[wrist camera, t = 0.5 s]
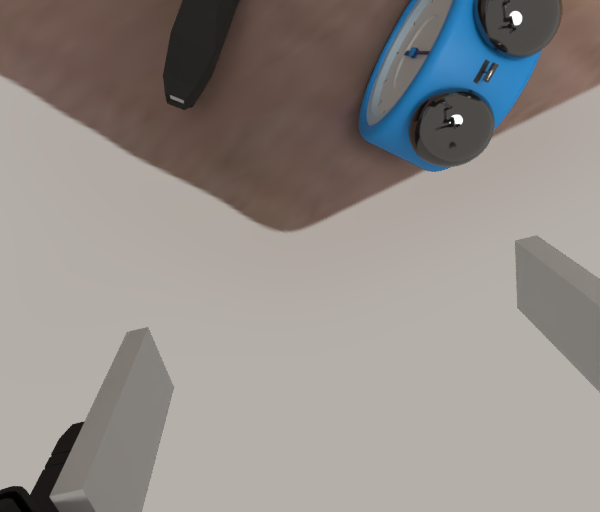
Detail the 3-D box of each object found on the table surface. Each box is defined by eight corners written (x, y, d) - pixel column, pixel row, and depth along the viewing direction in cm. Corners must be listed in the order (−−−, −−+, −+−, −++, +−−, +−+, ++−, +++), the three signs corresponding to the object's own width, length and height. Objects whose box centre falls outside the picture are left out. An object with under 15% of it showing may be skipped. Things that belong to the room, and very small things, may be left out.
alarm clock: (423, -38, 36) (524, -93, 22) (489, 2, 37) (622, -26, 23) (344, 123, 40) (386, 162, 26) (405, 154, 41) (476, 205, 28)
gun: (257, -36, 40) (280, -136, 30) (194, 140, 38) (197, 94, 28) (224, -51, 39) (237, -159, 29) (159, 127, 37) (150, 75, 28)
